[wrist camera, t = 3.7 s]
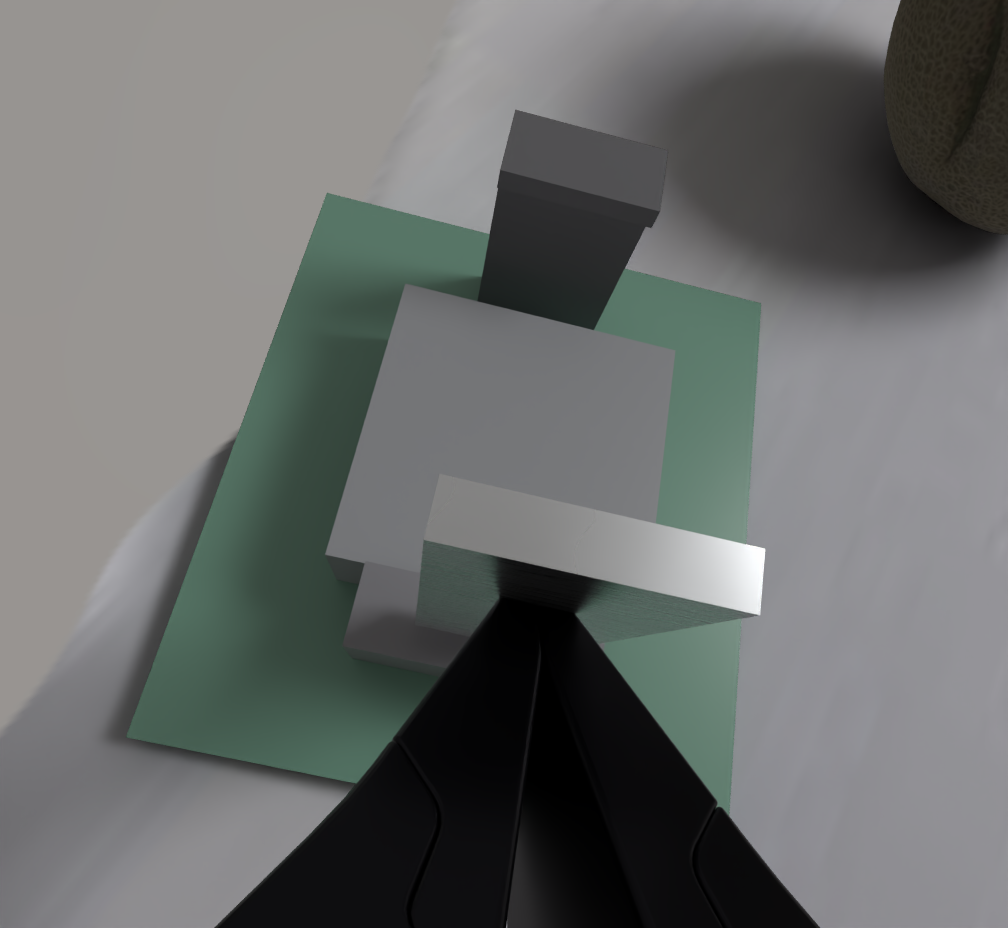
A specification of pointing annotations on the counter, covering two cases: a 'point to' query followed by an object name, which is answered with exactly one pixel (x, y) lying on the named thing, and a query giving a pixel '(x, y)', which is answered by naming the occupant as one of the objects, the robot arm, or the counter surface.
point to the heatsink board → (300, 473)
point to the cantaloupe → (952, 104)
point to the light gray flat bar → (576, 565)
